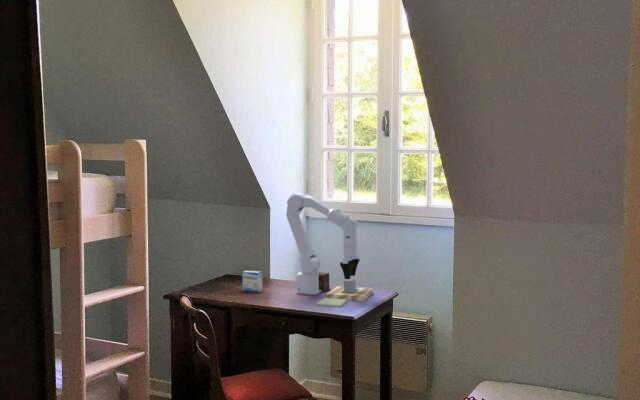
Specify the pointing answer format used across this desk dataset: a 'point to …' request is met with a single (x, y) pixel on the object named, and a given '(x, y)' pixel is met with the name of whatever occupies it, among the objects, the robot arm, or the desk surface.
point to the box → (323, 281)
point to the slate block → (350, 286)
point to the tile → (332, 302)
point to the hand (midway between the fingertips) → (349, 277)
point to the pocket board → (357, 296)
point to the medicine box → (252, 281)
